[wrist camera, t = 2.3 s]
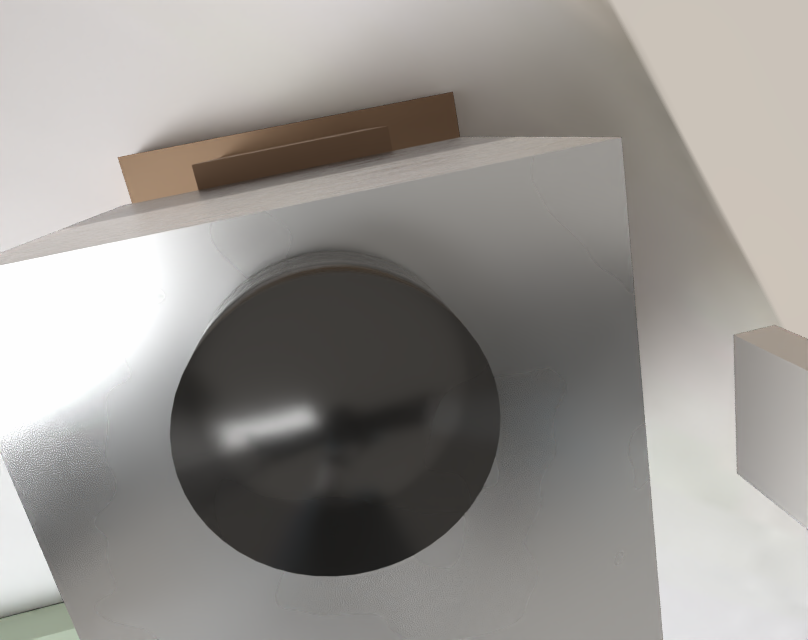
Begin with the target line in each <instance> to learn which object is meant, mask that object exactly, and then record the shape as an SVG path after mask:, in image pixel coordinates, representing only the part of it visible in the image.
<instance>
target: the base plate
mask: <svg viewBox="0 0 808 640" xmlns="http://www.w3.org/2000/svg"><path fill="white" fill-rule="evenodd" d="M508 138H513V137H459V138H454V139H449V140H444V141H439V142H434V143H429V144H424V145H419V146H414V147H409V148H404V149H399V150H395V151H390V152H385V153H380V154H375V155H370V156H365V157H360V158H355V159H350V160H345V161H340V162H335V163H330V164H325V165H320V166H315V167H311V168H306V169H301V170H296V171H291V172H286V173H281V174H276V175H271V176H266V177H261V178H256V179H251V180H246V181H241V182H236V183H232V184H227V185H222V186H217V187H212V188H207V189H202V190H197V191H192V192H187V193H182V194H177V195H172V196H167V197H162V198H157V199H152V200H148V201H143V202H138V203H133V204H128V205H123V206H120V207H118V208H115V209H113V210H110V211H107V212H105V213H102V214H100V215H97V216H94V217H92V218H89V219H87V220H84V221H82V222H79V223H76V224H74V225H71V226H69V227H66V228H63V229H67V228H72V227H76V226H81V225H86V224H91V223H96V222H101V221H106V220H111V219H116V218H121V217H126V216H130V215H135V214H140V213H145V212H150V211H155V210H160V209H165V208H170V207H175V206H179V205H184V204H189V203H194V202H199V201H204V200H209V199H214V198H219V197H224V196H228V195H233V194H238V193H243V192H248V191H253V190H258V189H263V188H268V187H273V186H277V185H282V184H287V183H292V182H297V181H302V180H307V179H312V178H317V177H322V176H326V175H331V174H336V173H341V172H346V171H351V170H356V169H361V168H366V167H371V166H375V165H380V164H385V163H390V162H395V161H400V160H405V159H410V158H415V157H420V156H424V155H429V154H434V153H439V152H444V151H449V150H454V149H459V148H464V147H469V146H473V145H478V144H483V143H488V142H493V141H498V140H503V139H508ZM61 230H62V229H61Z"/></svg>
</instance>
